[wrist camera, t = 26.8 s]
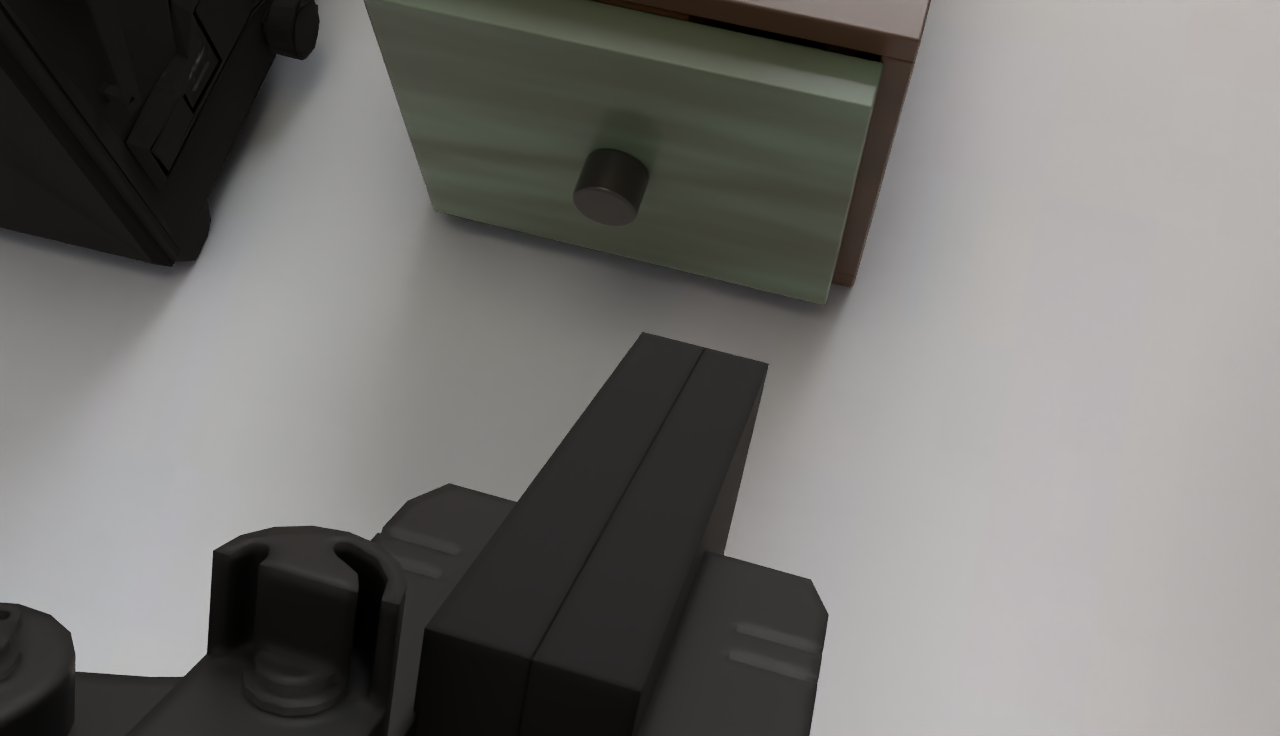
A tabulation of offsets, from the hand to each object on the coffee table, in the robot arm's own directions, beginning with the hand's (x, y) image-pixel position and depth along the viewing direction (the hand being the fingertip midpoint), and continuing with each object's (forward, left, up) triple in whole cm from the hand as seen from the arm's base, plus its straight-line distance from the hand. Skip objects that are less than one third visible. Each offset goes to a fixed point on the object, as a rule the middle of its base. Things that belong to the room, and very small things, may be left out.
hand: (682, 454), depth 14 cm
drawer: (+5, -16, -16) cm, 23 cm away
